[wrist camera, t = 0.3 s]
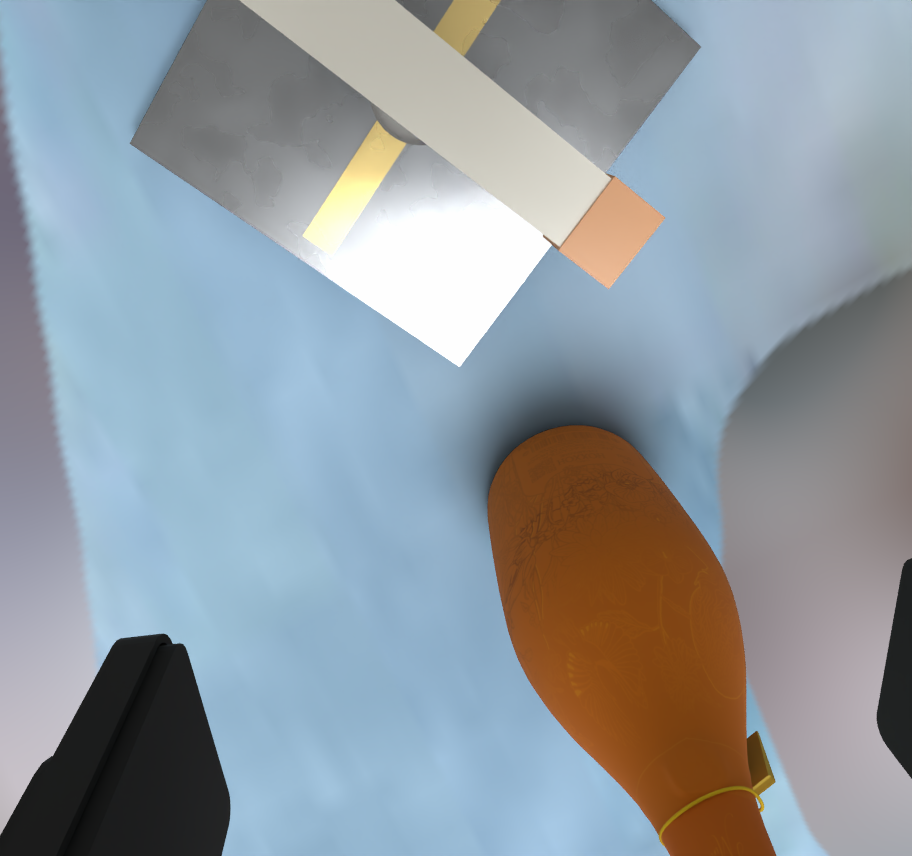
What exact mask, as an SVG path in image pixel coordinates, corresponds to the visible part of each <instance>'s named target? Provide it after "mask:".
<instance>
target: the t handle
mask: <svg viewBox="0 0 912 856" xmlns="http://www.w3.org/2000/svg"><path fill="white" fill-rule="evenodd" d="M239 1H241V2H242V3H243V4H245V5H246V6H247V7H248V8H250V9H251V10H252V11H254V12H255V13H256V14H258V15H259V16H260V17H261V18H263V19H264V20H265V21H267V22H268V23H269V24H271V25H272V26H273V27H274V28H276V29H277V30H278V31H280V32H281V33H282V34H284V35H285V36H286V37H287V38H289V39H290V40H291V41H293V42H294V43H295V44H297V45H298V46H299V47H300V48H302V49H303V50H304V51H306V52H307V53H308V54H310V55H311V56H312V57H313V58H315V59H316V60H317V61H319V62H320V63H321V64H323V65H324V66H325V67H326V68H328V69H329V70H330V71H332V72H333V73H334V74H336V75H337V76H338V77H339V78H341V79H342V80H343V81H345V82H346V83H347V84H349V85H350V86H351V87H352V88H354V89H355V90H356V91H358V92H359V93H360V94H362V95H363V96H364V97H365V98H367V99H368V100H369V101H371V102H372V103H373V104H375V105H376V106H377V107H378V108H380V109H381V110H382V111H384V112H385V113H386V114H388V115H389V116H390V117H391V118H393V119H394V120H395V121H397V122H398V123H399V124H401V125H402V126H403V127H404V128H406V129H407V130H408V131H410V132H411V133H412V134H414V135H415V136H416V137H417V138H419V139H420V140H421V141H423V142H424V143H425V144H426V145H428V146H429V147H430V148H432V149H433V150H434V151H436V152H437V153H438V154H439V155H441V156H442V157H443V158H445V159H446V160H447V161H449V162H450V163H451V164H452V165H454V166H455V167H456V168H458V169H459V170H460V171H462V172H463V173H464V174H465V175H467V176H468V177H469V178H471V179H472V180H473V181H475V182H476V183H477V184H478V185H480V186H481V187H482V188H484V189H485V190H486V191H488V192H489V193H490V194H491V195H493V196H494V197H495V198H497V199H498V200H499V201H501V202H502V203H503V204H504V205H506V206H507V207H508V208H510V209H511V210H512V211H514V212H515V213H516V214H517V215H519V216H520V217H521V218H523V219H524V220H525V221H527V222H528V223H529V224H530V225H532V226H533V227H534V228H536V229H537V230H538V231H540V232H541V233H542V234H543V237H544V238H545V239H546V240H547V241H548V242H549V243H551V244H552V245H553V246H554V247H555V248H556V249H557V250H558V251H560V252H561V253H562V254H564V255H565V256H566V257H568V258H569V259H570V260H571V261H573V262H574V263H575V264H577V265H578V266H579V267H581V268H582V269H583V270H585V271H586V272H587V273H588V274H590V275H591V276H592V277H594V278H595V279H596V280H598V281H599V282H600V283H601V284H603V285H604V286H605V287H607V288H608V289H609V288H610V287H611V286H612V284H613V283H614V282H615V281H616V279H617V278H618V277H619V276H620V274H621V273H622V272H623V270H624V269H625V268H626V267H627V265H628V264H629V263H630V262H631V260H632V259H633V258H634V257H635V255H636V254H637V253H638V252H639V250H640V249H641V248H642V247H643V245H644V244H645V243H646V242H647V240H648V239H649V238H650V237H651V235H652V234H653V233H654V232H655V230H656V229H657V228H658V227H659V225H660V224H661V223H662V222H663V220H664V219H665V217H664V216H662V215H661V214H660V213H659V212H658V211H656V210H655V209H654V208H653V207H652V206H650V205H649V204H648V203H647V202H646V201H644V200H643V199H642V198H641V197H639V196H638V195H637V194H636V193H635V192H633V191H632V190H631V189H630V188H629V187H627V186H626V185H625V184H624V183H623V182H621V181H620V180H619V179H618V178H617V177H615V176H612V175H609V174H606V173H604V172H603V171H602V170H600V169H599V168H598V167H597V166H596V165H594V164H593V163H592V162H591V161H590V160H588V159H587V158H586V157H585V156H583V155H582V154H581V153H580V152H579V151H577V150H576V149H575V148H574V147H573V146H571V145H570V144H569V143H568V142H566V141H565V140H564V139H563V138H562V137H560V136H559V135H558V134H557V133H556V132H554V131H553V130H552V129H551V128H549V127H548V126H547V125H546V124H545V123H543V122H542V121H541V120H540V119H539V118H537V117H536V116H535V115H534V114H533V113H531V112H530V111H529V110H528V109H526V108H525V107H524V106H523V105H522V104H520V103H519V102H518V101H517V100H516V99H514V98H513V97H512V96H511V95H509V94H508V93H507V92H506V91H505V90H503V89H502V88H501V87H500V86H499V85H497V84H496V83H495V82H494V81H492V80H491V79H490V78H489V77H488V76H486V75H485V74H484V73H483V72H482V71H480V70H479V69H478V68H477V67H476V66H474V65H473V64H472V63H471V62H469V61H468V60H467V59H466V58H465V57H463V56H462V55H461V54H460V53H459V52H457V51H456V50H455V49H454V48H452V47H451V46H450V45H449V44H448V43H446V42H445V41H444V40H443V39H442V38H440V37H439V36H438V35H437V34H435V33H434V32H433V31H432V30H431V29H429V28H428V27H427V26H426V25H425V24H423V23H422V22H421V21H420V20H418V19H417V18H416V17H415V16H414V15H412V14H411V13H410V12H409V11H408V10H406V9H405V8H404V7H403V6H402V5H400V4H399V3H398V2H397V1H395V0H239Z"/></svg>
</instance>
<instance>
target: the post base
mask: <svg viewBox="0 0 912 856" xmlns="http://www.w3.org/2000/svg"><path fill="white" fill-rule="evenodd" d="M395 1H397V2H398V3H399V4H400V5H402V6H403V7H404V8H405V9H406V10H408V11H409V12H410V13H411V14H412V15H414V16H415V17H416V18H417V19H418V20H420V21H421V22H422V23H423V24H425V25H426V26H427V27H428V28H429V29H431V30H432V31H433V32H434V33H435V34H437V35H438V36H439V37H440V38H442V39H443V40H444V41H445V42H446V43H448V44H449V45H450V46H451V47H452V48H454V49H455V50H456V51H457V52H459V53H460V54H461V55H462V56H463V57H465V58H466V59H467V60H468V61H469V62H471V63H472V64H473V65H474V66H476V67H477V68H478V69H479V70H480V71H482V72H483V73H484V74H485V75H486V76H488V77H489V78H490V79H491V80H492V81H494V82H495V83H496V84H497V85H499V86H500V87H501V88H502V89H503V90H505V91H506V92H507V93H508V94H509V95H511V96H512V97H513V98H514V99H516V100H517V101H518V102H519V103H520V104H522V105H523V106H524V107H525V108H526V109H528V110H529V111H530V112H531V113H533V114H534V115H535V116H536V117H537V118H539V119H540V120H541V121H542V122H543V123H545V124H546V125H547V126H548V127H549V128H551V129H552V130H553V131H554V132H556V133H557V134H558V135H559V136H560V137H562V138H563V139H564V140H565V141H566V142H568V143H569V144H570V145H571V146H573V147H574V148H575V149H576V150H577V151H579V152H580V153H581V154H582V155H583V156H585V157H586V158H587V159H588V160H590V161H591V162H592V163H593V164H594V165H596V166H597V167H598V168H599V169H600V170H602V171H603V172H604V173H606V172H607V171H608V169H609V168H610V167H611V165H612V164H613V163H614V162H615V160H616V159H617V158H618V156H619V155H620V154H621V152H622V151H623V150H624V148H625V147H626V146H627V144H628V143H629V142H630V140H631V139H632V138H633V136H634V135H635V134H636V132H637V131H638V130H639V128H640V127H641V126H642V124H643V123H644V122H645V120H646V119H647V118H648V116H649V115H650V114H651V112H652V111H653V110H654V109H655V107H656V106H657V105H658V103H659V102H660V101H661V99H662V98H663V97H664V95H665V94H666V93H667V91H668V90H669V89H670V87H671V86H672V85H673V83H674V82H675V81H676V79H677V78H678V77H679V75H680V74H681V73H682V71H683V70H684V69H685V67H686V66H687V65H688V63H689V62H690V61H691V60H692V58H693V57H694V56H695V54H696V53H697V52H698V50H699V49H700V48H701V46H700V45H699V44H698V43H696V42H695V41H694V40H693V39H692V38H691V37H690V36H689V35H688V34H687V33H686V32H685V31H684V30H683V29H681V28H680V27H679V26H678V25H677V24H676V23H675V22H674V21H673V20H672V19H671V18H670V17H669V16H668V15H666V14H665V13H664V12H663V11H662V10H661V9H660V8H659V7H658V6H657V5H656V4H655V3H654V2H653V1H651V0H395ZM130 144H131V145H132V146H134V147H135V148H137V149H138V150H140V151H141V152H143V153H144V154H146V155H147V156H149V157H150V158H152V159H153V160H155V161H156V162H158V163H159V164H161V165H162V166H164V167H165V168H166V169H168V170H169V171H171V172H172V173H174V174H175V175H177V176H178V177H180V178H181V179H183V180H184V181H186V182H187V183H189V184H190V185H192V186H193V187H195V188H196V189H197V190H199V191H200V192H202V193H203V194H205V195H206V196H208V197H209V198H211V199H212V200H214V201H215V202H217V203H218V204H220V205H221V206H223V207H224V208H226V209H227V210H229V211H230V212H231V213H233V214H234V215H236V216H237V217H239V218H240V219H242V220H243V221H245V222H246V223H248V224H249V225H251V226H252V227H254V228H255V229H257V230H258V231H260V232H261V233H262V234H264V235H265V236H267V237H268V238H270V239H271V240H273V241H274V242H276V243H277V244H279V245H280V246H282V247H283V248H285V249H286V250H288V251H289V252H291V253H292V254H294V255H295V256H296V257H298V258H299V259H301V260H302V261H304V262H305V263H307V264H308V265H310V266H311V267H313V268H314V269H316V270H317V271H319V272H320V273H322V274H323V275H325V276H326V277H327V278H329V279H330V280H332V281H333V282H335V283H336V284H338V285H339V286H341V287H342V288H344V289H345V290H347V291H348V292H350V293H351V294H353V295H354V296H356V297H357V298H359V299H360V300H361V301H363V302H364V303H366V304H367V305H369V306H370V307H372V308H373V309H375V310H376V311H378V312H379V313H381V314H382V315H384V316H385V317H387V318H388V319H390V320H391V321H392V322H394V323H395V324H397V325H398V326H400V327H401V328H403V329H404V330H406V331H407V332H409V333H410V334H412V335H413V336H415V337H416V338H418V339H419V340H421V341H422V342H424V343H425V344H426V345H428V346H429V347H431V348H432V349H434V350H435V351H437V352H438V353H440V354H441V355H443V356H444V357H446V358H447V359H449V360H450V361H452V362H453V363H455V364H456V365H457V366H459V367H460V366H461V364H462V363H463V362H464V360H465V359H466V358H467V356H468V355H469V354H470V352H471V351H472V350H473V348H474V347H475V346H476V344H477V343H478V342H479V340H480V339H481V338H482V336H483V335H484V334H485V332H486V331H487V330H488V328H489V327H490V326H491V324H492V323H493V322H494V321H495V319H496V318H497V317H498V315H499V314H500V313H501V311H502V310H503V309H504V307H505V306H506V305H507V303H508V302H509V301H510V299H511V298H512V297H513V295H514V294H515V293H516V291H517V290H518V289H519V287H520V286H521V285H522V283H523V282H524V281H525V279H526V278H527V277H528V275H529V274H530V273H531V271H532V270H533V269H534V268H535V266H536V265H537V264H538V262H539V261H540V260H541V258H542V257H543V256H544V254H545V253H546V252H547V250H548V249H549V248H550V246H551V245H552V244H551V243H549V242H548V241H547V240H546V239H545V238H544V237H543V234H542V233H541V232H540V231H538V230H537V229H536V228H534V227H533V226H532V225H530V224H529V223H528V222H527V221H525V220H524V219H523V218H521V217H520V216H519V215H517V214H516V213H515V212H514V211H512V210H511V209H510V208H508V207H507V206H506V205H504V204H503V203H502V202H501V201H499V200H498V199H497V198H495V197H494V196H493V195H491V194H490V193H489V192H488V191H486V190H485V189H484V188H482V187H481V186H480V185H478V184H477V183H476V182H475V181H473V180H472V179H471V178H469V177H468V176H467V175H465V174H464V173H463V172H462V171H460V170H459V169H458V168H456V167H455V166H454V165H452V164H451V163H450V162H449V161H447V160H446V159H445V158H443V157H442V156H441V155H439V154H438V153H437V152H436V151H434V150H433V149H432V148H430V147H429V146H428V145H426V144H425V143H424V142H423V141H421V140H420V139H419V138H417V137H416V136H415V135H414V134H412V133H411V132H410V131H408V130H407V129H406V128H404V127H403V126H402V125H401V124H399V123H398V122H397V121H395V120H394V119H393V118H391V117H390V116H389V115H388V114H386V113H385V112H384V111H382V110H381V109H380V108H378V107H377V106H376V105H375V104H373V103H372V102H371V101H369V100H368V99H367V98H365V97H364V96H363V95H362V94H360V93H359V92H358V91H356V90H355V89H354V88H352V87H351V86H350V85H349V84H347V83H346V82H345V81H343V80H342V79H341V78H339V77H338V76H337V75H336V74H334V73H333V72H332V71H330V70H329V69H328V68H326V67H325V66H324V65H323V64H321V63H320V62H319V61H317V60H316V59H315V58H313V57H312V56H311V55H310V54H308V53H307V52H306V51H304V50H303V49H302V48H300V47H299V46H298V45H297V44H295V43H294V42H293V41H291V40H290V39H289V38H287V37H286V36H285V35H284V34H282V33H281V32H280V31H278V30H277V29H276V28H274V27H273V26H272V25H271V24H269V23H268V22H267V21H265V20H264V19H263V18H261V17H260V16H259V15H258V14H256V13H255V12H254V11H252V10H251V9H250V8H248V7H247V6H246V5H245V4H243V3H242V2H241V1H239V0H207V1H206V3H205V5H204V7H203V9H202V10H201V12H200V14H199V16H198V18H197V20H196V22H195V23H194V25H193V27H192V29H191V31H190V33H189V35H188V36H187V38H186V40H185V42H184V44H183V46H182V48H181V49H180V51H179V53H178V55H177V57H176V59H175V61H174V62H173V64H172V66H171V68H170V70H169V72H168V73H167V75H166V77H165V79H164V81H163V83H162V85H161V86H160V88H159V90H158V92H157V94H156V96H155V98H154V99H153V101H152V103H151V105H150V107H149V109H148V111H147V112H146V114H145V116H144V118H143V120H142V122H141V124H140V125H139V127H138V129H137V131H136V133H135V135H134V137H133V138H132V140H131V142H130Z"/></svg>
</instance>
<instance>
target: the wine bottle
mask: <svg viewBox="0 0 912 856" xmlns="http://www.w3.org/2000/svg"><path fill="white" fill-rule="evenodd" d="M488 524H489V531H490V539H491V546H492V552H493V558H494V564H495V570H496V576H497V581H498V586H499V592H500V596H501V601H502V606H503V610H504V615H505V619H506V624H507V628H508V631H509V635H510V638H511V641H512V644H513V647H514V650H515V652H516V655H517V658H518V660H519V662H520V664H521V666H522V668H523V670H524V672H525V674H526V676H527V678H528V680H529V681H530V683H531V685H532V686H533V688H534V689H535V691H536V692H537V694H538V695H539V697H540V698H541V700H542V701H543V702H544V704H545V705H546V707H547V708H548V709H549V711H550V712H551V713H552V714H553V716H554V717H555V718H556V719H557V721H558V722H559V723H560V724H561V725H562V726H563V728H564V729H565V730H566V731H567V732H568V733H569V734H570V736H571V737H572V738H573V739H574V740H575V741H576V742H577V743H578V744H579V745H580V746H581V747H582V748H583V749H584V750H585V751H586V752H587V753H588V754H589V755H590V756H591V757H593V758H594V759H595V760H596V761H597V762H598V763H599V764H600V765H601V766H602V767H603V768H604V769H605V770H606V771H607V772H608V773H609V774H610V775H611V776H612V777H613V778H614V779H615V780H616V781H617V782H618V783H619V784H620V785H621V786H622V788H623V789H624V790H625V791H626V792H627V793H628V794H629V795H630V796H631V797H632V798H633V800H634V801H635V802H636V803H637V804H638V805H639V807H640V808H641V810H642V811H643V813H644V814H645V815H646V817H647V818H648V819H649V820H650V822H651V823H652V825H653V827H654V828H655V830H656V832H657V833H658V835H659V840H660V842H661V843H662V845H664V846H665V847H666V849H667V851H668V852H669V854H670V856H776V853H775V851H774V848H773V846H772V843H771V841H770V838H769V836H768V833H767V831H766V828H765V826H764V823H763V820H762V817H761V814H760V812H762V811H763V810H764V804H763V801H762V799H761V798H760V796H759V795H760V794H761V793H762V792H764V791H765V790H766V789H767V788H769V787H770V786H771V785H772V784H774V783H775V779H774V776H773V773H772V770H771V767H770V764H769V761H768V759H767V756H766V753H765V750H764V747H763V744H762V741H761V739H760V736H759V733H758V732H757V731H756V732H755V733H753V734H752V735H751V736H750V737H748V738H747V734H746V663H745V654H744V645H743V638H742V630H741V625H740V620H739V615H738V611H737V608H736V603H735V600H734V596H733V593H732V590H731V587H730V585H729V582H728V580H727V577H726V575H725V573H724V571H723V568H722V566H721V565H720V563H719V561H718V559H717V558H716V556H715V554H714V552H713V551H712V549H711V547H710V546H709V544H708V543H707V541H706V540H705V538H704V536H703V535H702V534H701V532H700V531H699V529H698V528H697V526H696V525H695V524H694V522H693V521H692V519H691V518H690V517H689V515H688V514H687V513H686V511H685V510H684V509H683V507H682V506H681V505H680V503H679V502H678V500H677V499H676V498H675V496H674V495H673V494H672V492H671V491H670V490H669V489H668V487H667V486H666V485H665V483H664V482H663V481H662V479H661V478H660V477H659V476H658V474H657V473H656V472H655V471H654V469H653V468H652V467H651V466H650V465H649V463H648V462H647V461H646V460H645V459H644V458H643V456H642V455H641V454H640V453H639V452H638V451H637V450H636V449H635V448H634V447H633V446H632V445H631V444H629V443H628V442H627V441H625V440H624V439H622V438H621V437H619V436H617V435H615V434H613V433H611V432H609V431H606V430H603V429H600V428H596V427H592V426H583V425H570V426H562V427H557V428H553V429H549V430H546V431H544V432H541V433H538V434H536V435H535V436H533V437H531V438H529V439H527V440H526V441H524V442H523V443H521V444H520V445H519V446H518V447H516V448H515V449H514V450H513V451H512V452H511V453H510V454H509V455H508V456H507V457H506V459H505V460H504V461H503V463H502V464H501V465H500V467H499V469H498V471H497V472H496V474H495V477H494V479H493V482H492V484H491V487H490V491H489V496H488ZM755 798H757V799H758V801H759V803H760V805H761V808H760V809H758V805H757V802H756V799H755Z"/></svg>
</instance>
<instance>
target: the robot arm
mask: <svg viewBox="0 0 912 856" xmlns="http://www.w3.org/2000/svg"><path fill="white" fill-rule="evenodd" d="M877 724H878V728H879V731H880V734H881V736H882V739H883V741H884V742H885V744H886V745H887V747H888V748H889V749H890V751H891V752H892V753H893V754H894V756H895V757H896V759H897V760H898V761H899V763H900V764H901V765H902V767H903V768H904V769H905V770H906V772H907V773H908V774H909V776H910V777H911V778H912V558H911V559H909V560H907V561H906V562H905V563H904V566H903V569H902V574H901V580H900V585H899V591H898V597H897V602H896V608H895V614H894V619H893V625H892V630H891V636H890V642H889V648H888V653H887V659H886V665H885V670H884V676H883V681H882V687H881V693H880V699H879V705H878V710H877ZM229 821H230V796H229V791H228V788H227V785H226V781H225V778H224V774H223V771H222V768H221V764H220V761H219V757H218V754H217V751H216V747H215V744H214V741H213V737H212V734H211V730H210V727H209V724H208V720H207V717H206V713H205V710H204V707H203V703H202V700H201V697H200V693H199V690H198V686H197V683H196V680H195V676H194V673H193V669H192V666H191V663H190V659H189V656H188V653H187V650H186V648H185V646H184V645H183V644H180V643H179V644H172V641H171V639H170V638H169V637H168V635H166V634H156V635H147V636H138V637H130V638H121V639H119V640H117V641H116V642H115V643H114V645H113V646H112V648H111V649H110V651H109V653H108V655H107V657H106V659H105V661H104V662H103V664H102V666H101V668H100V670H99V672H98V674H97V675H96V677H95V679H94V681H93V683H92V685H91V687H90V688H89V690H88V692H87V694H86V696H85V698H84V700H83V701H82V703H81V705H80V707H79V709H78V711H77V713H76V714H75V716H74V718H73V720H72V722H71V724H70V726H69V727H68V729H67V731H66V733H65V735H64V737H63V739H62V740H61V742H60V744H59V746H58V748H57V750H56V751H55V753H54V755H53V756H51V757H50V758H49V759H47V760H46V761H45V762H43V763H42V764H41V766H40V767H39V769H38V770H37V771H36V773H35V774H34V776H33V777H32V779H31V781H30V783H29V785H28V786H27V789H26V790H25V792H24V794H23V795H22V797H21V799H20V801H19V803H18V805H17V806H16V808H15V810H14V812H13V814H12V815H11V817H10V819H9V821H8V823H7V825H6V826H5V828H4V830H3V832H2V833H1V835H0V856H221V855H222V851H223V847H224V843H225V839H226V835H227V830H228V826H229Z"/></svg>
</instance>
